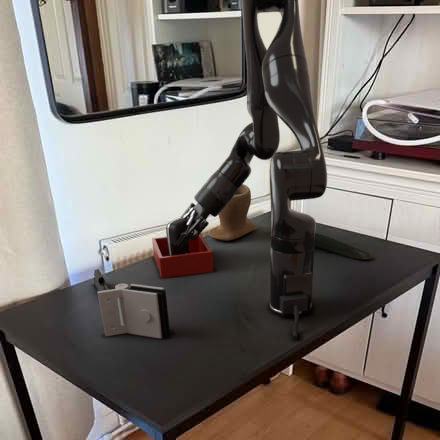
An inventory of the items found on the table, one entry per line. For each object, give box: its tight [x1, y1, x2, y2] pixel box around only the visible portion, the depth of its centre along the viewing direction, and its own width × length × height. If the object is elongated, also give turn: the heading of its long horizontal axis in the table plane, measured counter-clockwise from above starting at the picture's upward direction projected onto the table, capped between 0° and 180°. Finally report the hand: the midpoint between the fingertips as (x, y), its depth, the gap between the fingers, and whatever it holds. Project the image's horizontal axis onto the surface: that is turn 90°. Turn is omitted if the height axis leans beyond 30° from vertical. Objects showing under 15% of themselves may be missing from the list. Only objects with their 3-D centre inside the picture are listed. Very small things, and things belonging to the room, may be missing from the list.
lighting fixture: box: [93, 268, 110, 302], centre depth 134 cm, size 19×3×4 cm, turn 22°
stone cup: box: [208, 183, 257, 242], centre depth 164 cm, size 15×12×15 cm
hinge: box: [97, 283, 171, 340], centre depth 118 cm, size 14×5×10 cm, turn 81°
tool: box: [314, 232, 373, 261], centre depth 153 cm, size 28×6×7 cm, turn 47°
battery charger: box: [165, 217, 192, 256], centre depth 148 cm, size 7×4×11 cm, turn 143°
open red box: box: [151, 232, 214, 279], centre depth 150 cm, size 16×14×5 cm
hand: (175, 243), depth 148 cm, fingers closed on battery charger, 6 cm apart
